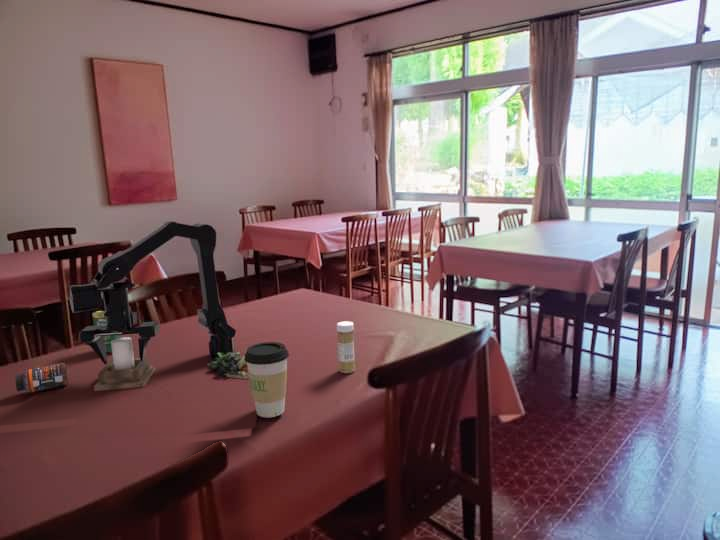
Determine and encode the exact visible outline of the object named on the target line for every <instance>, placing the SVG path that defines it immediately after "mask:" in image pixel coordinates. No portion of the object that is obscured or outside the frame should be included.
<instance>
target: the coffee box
mask: <svg viewBox="0 0 720 540" xmlns="http://www.w3.org/2000/svg"><path fill="white" fill-rule="evenodd" d="M104 313H105V310H97V311H95V312H92V319H93V326H97V325H101V327H102V329H106V328H107V320H106V317H104ZM115 332H118V331H115ZM117 338H122V335H112V336H104V346H105V351H106V353H107V352H110V353H109V354H112V347H111V341H112V340H114V339H117Z"/></svg>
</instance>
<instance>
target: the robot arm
mask: <svg viewBox="0 0 720 540" xmlns="http://www.w3.org/2000/svg"><path fill="white" fill-rule="evenodd" d="M175 237H181V238H186V239H189V241H190V243H191V244H190V245H191V247H192V249H193V251H194V252H195V254H196V257H197V266H198V274H199V281H200V282H199V283H200V289H201V296H202V305H201V308H199V309H196V312H197V315H198V321H197V322H198V323H199V324H200V326H201V328H203V329H204V330H206V331H207V333H208V334H209V335H210V337H209V338H210V340H209V341H208V351H209V356H210V360H214V359H215V358H216V357H217V358H218V357H219V356H218V355H217V353H218V352H220V353H223V354H222V355H225V354H227V353H229V352H231V353H232V352H234V353H236V349H235V345H234V338H235V335H236V332H237V330H236V329H235V328H234V327H233V326H231V325H229V324H228V320H227V317H226V315H225V312H224V309H223V307H222V305H221V303H220V299H219V297H220V296H219V290H218V284H217V275H216V267H215V258H214V253H215V250H216V247H217V231H216V229H215V228H214V227H213V226H212V225H210V224H205V223H199V222H198V223H194V224H193V225H190V224H186V223H185V224H184V223H180V222H178V221H173V220H167V221H165V223H164V224H163V225H162V226H160V227H158V228H156V230H154V231H152V232H151V233H150V234H148V235H147V236H145V237H143V238H141V239H140V240H139V241H138V242H136V243H134V244H133V245H131V246H130V247H128V248H126V249H125V250H122V251H118V252H116V253H114V254H112V255H109V256H107V257H105V258H102V260H101V261H99V263H98V267H97V269H98V271H97V273H96V275H95V276H94V277H93V279H92V281H91V283H86V284H73V285H69V304H70V309H71V311H72V314H74V313H75V314H76V313H80V312H81V313H82V312H87V311H94V310H99V307H101V305H103V304H104V305H103V306H104V311H105V313H104V317H106V320H107V328H106V329H102V327H101V325H97V326H94V325H87V326H86V327H84V328H83V329H81V330H80V332H79V333H78V341H79V343H84V344H85V345H86V346H89V347H90V348H91V349H92V351H94V352H95V353H96V355H97V356H98V358H100V360H101V362H102V363H103V364H104V365H107V364H108V356H107V352H106V351H105V346H104V336H112V335H121V336H123V335H125V336H126V335H135V334H138V336H139V338H138V340H137V341H138V353H139V354H138V355H139V358H140V360H141V361H143V359H144V357H145V355H146V350H147V346H148V344H149V341H151V340H152V338H153V337H156V336H157V335H158V333H159V332H160V331H161V328H160V324H159V322H158V321H157V320H156V321H143V322H142V323H141V324H140V325H138V326H134V325H137V324H138V317H137V316H138V312H136V311H132V308H131V305H130V304H129V303H130V302H129V293H128V288H135V286H136V284H135V283H133V282H132V281H130V279H129V278H127V277H126V276H127V275H129V274H130V273H131V272H132V270H133V269H134V268H135V266H136V265H137V264H138V263H140V261H142V260H143V259H144V258H146V257H147V256H149V255H150V254H152V253H153V252H155V251H156V250H157V249H159V248H160V247H162V246H163V245H166V243H167V242H169V241H170V240H172V239H173V238H175ZM102 296H103V297H102ZM115 331H118V332H115Z"/></svg>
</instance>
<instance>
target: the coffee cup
mask: <svg viewBox="0 0 720 540" xmlns="http://www.w3.org/2000/svg"><path fill="white" fill-rule="evenodd" d="M244 356H245V357H244V360H245V361H246V362H247V366H248V375H249V379H248V380H249V384H250V389H251V393H252V399H253V402H254V405H255V406H254V407H255V410H256V415H258V416H259V417H262V418H274V417H277V416H281V415H282V414H283V413H284V412H285V406H286V405H285V404H286V403H285V402H286V395H287V376H288V358H289V356H290V353H289V350H288V349H287V347H286V345H285V344H284V343H281V342H278V341H277V342H276V341H266V342H260V343H255V344H253V345H251V346H248V347H247V349H246V352H245V354H244Z"/></svg>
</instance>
